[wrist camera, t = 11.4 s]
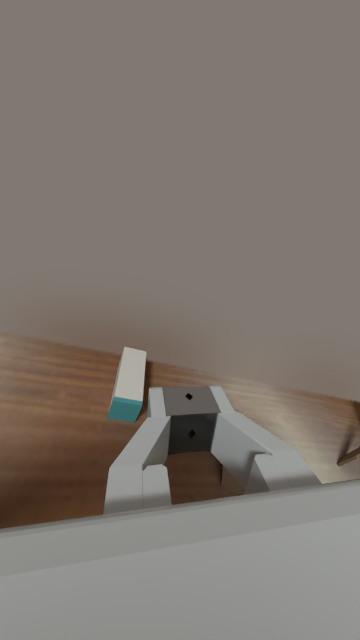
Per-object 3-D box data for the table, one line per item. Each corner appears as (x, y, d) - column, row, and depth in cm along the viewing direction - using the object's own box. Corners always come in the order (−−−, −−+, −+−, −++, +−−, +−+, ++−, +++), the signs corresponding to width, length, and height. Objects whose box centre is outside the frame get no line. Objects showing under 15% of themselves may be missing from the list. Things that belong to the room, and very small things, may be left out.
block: (113, 400, 34) (124, 346, 44) (107, 418, 36) (119, 362, 47) (142, 405, 35) (146, 351, 46) (134, 422, 37) (140, 367, 48)
